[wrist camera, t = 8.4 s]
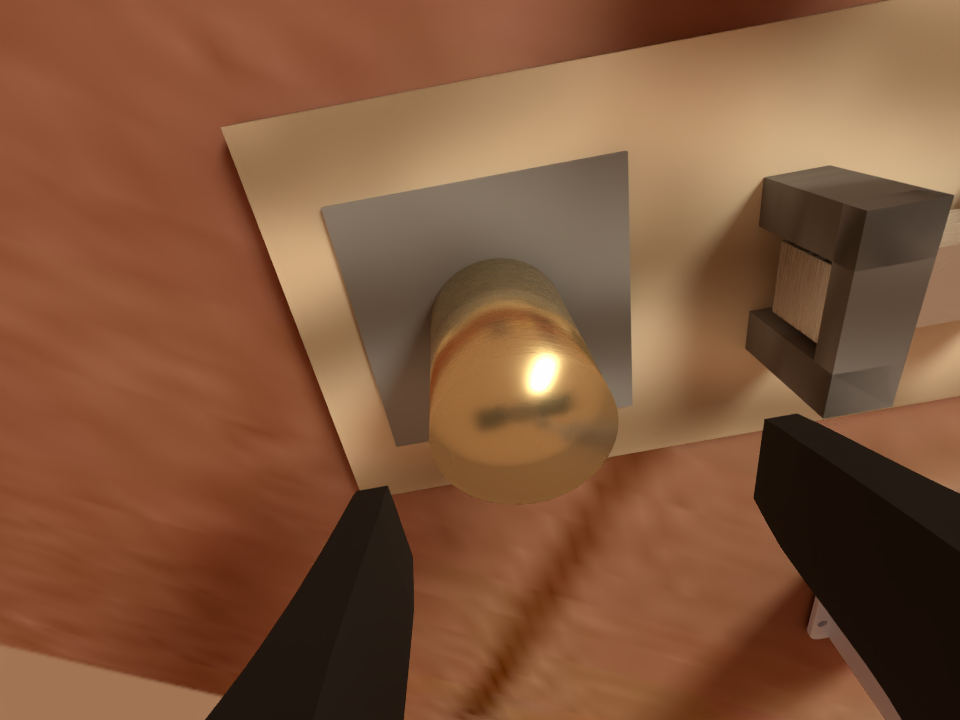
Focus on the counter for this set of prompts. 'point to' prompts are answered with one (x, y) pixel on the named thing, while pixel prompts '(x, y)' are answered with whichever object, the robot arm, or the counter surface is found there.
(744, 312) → the clamp jig
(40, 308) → the counter surface
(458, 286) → the cylinder
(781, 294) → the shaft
